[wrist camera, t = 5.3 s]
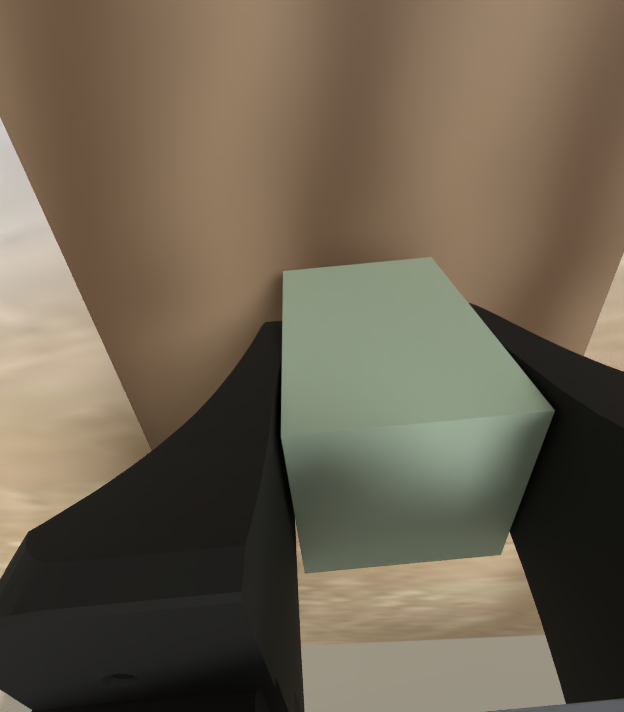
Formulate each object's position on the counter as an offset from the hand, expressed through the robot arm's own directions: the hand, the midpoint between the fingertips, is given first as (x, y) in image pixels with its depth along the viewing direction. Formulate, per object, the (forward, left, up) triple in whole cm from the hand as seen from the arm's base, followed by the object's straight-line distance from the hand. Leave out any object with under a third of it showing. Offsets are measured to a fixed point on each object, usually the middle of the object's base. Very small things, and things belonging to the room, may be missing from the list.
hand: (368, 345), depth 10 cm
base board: (0, 0, -4) cm, 4 cm away
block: (0, 0, -2) cm, 2 cm away
